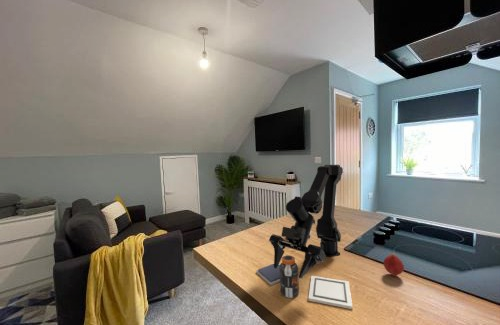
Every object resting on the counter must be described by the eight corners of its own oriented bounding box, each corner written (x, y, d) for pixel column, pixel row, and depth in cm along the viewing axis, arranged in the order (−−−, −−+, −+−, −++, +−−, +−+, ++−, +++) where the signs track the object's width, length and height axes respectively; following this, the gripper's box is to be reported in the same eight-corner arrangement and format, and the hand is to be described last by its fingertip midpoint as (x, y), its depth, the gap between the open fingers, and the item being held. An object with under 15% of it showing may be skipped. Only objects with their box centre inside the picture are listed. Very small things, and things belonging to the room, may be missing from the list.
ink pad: (276, 264, 84) (276, 261, 84) (292, 276, 75) (292, 273, 75) (256, 272, 79) (256, 269, 79) (270, 285, 71) (270, 282, 71)
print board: (311, 277, 74) (311, 275, 74) (348, 283, 70) (348, 280, 69) (308, 300, 63) (308, 297, 63) (352, 309, 58) (352, 305, 58)
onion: (380, 271, 76) (379, 249, 76) (396, 270, 76) (395, 249, 75) (390, 280, 70) (390, 257, 70) (408, 280, 70) (407, 257, 70)
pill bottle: (295, 301, 63) (293, 264, 62) (277, 294, 66) (275, 260, 65) (301, 289, 68) (300, 255, 67) (284, 284, 71) (283, 251, 70)
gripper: (270, 212, 75) (252, 253, 67) (320, 221, 63) (304, 273, 55) (283, 227, 81) (267, 267, 74) (331, 238, 69) (318, 287, 61)
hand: (286, 272), depth 66 cm, fingers open, 9 cm apart
